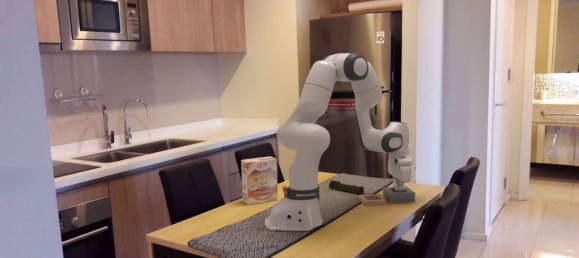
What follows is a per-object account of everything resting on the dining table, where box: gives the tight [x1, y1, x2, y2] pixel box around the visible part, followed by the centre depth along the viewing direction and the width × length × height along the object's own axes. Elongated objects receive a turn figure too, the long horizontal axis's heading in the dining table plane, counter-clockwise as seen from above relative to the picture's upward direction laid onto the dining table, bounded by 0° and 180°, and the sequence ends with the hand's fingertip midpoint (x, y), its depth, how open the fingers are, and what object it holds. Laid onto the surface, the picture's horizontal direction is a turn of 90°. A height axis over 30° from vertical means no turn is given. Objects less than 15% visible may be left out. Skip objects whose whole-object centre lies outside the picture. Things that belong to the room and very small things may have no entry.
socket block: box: [382, 185, 416, 204], centre depth 197 cm, size 11×11×4 cm
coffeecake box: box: [240, 155, 279, 206], centre depth 199 cm, size 15×7×20 cm, turn 118°
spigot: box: [392, 176, 406, 192], centre depth 197 cm, size 4×4×8 cm
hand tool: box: [328, 179, 365, 195], centre depth 212 cm, size 19×4×5 cm, turn 47°
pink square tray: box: [358, 193, 387, 207], centre depth 193 cm, size 10×10×2 cm
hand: (398, 187), depth 197 cm, fingers closed on spigot, 4 cm apart
